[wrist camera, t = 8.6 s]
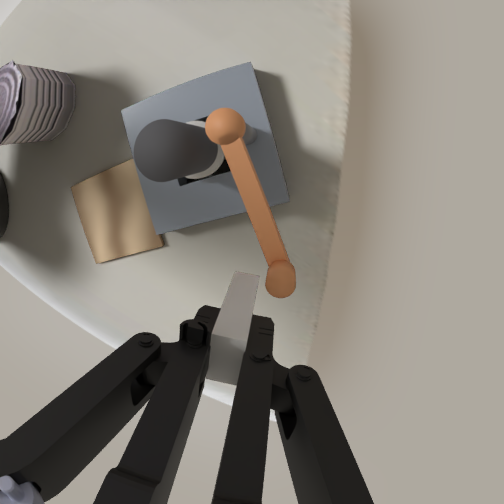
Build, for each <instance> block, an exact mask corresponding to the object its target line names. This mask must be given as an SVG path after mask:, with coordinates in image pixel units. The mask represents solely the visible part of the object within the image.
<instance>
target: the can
mask: <svg viewBox="0 0 504 504" xmlns="http://www.w3.org/2000/svg"><path fill="white" fill-rule="evenodd" d="M74 109H75V85H74V83H73V82H72V80H71V79H70V78H69V76H68V75H67V73H63V72H59V71H54V70H49V69H44V68H38V67H32V66H26V65H20V64H15V63H14V61H13V60H12V61H11V62H9V63H8V64H6V65H4V66H2V67H1V68H0V145H7V144H16V143H25V142H36V141H49V140H53V139H54V138H55V137H56V136H58V135H59V134H60V133H61V132H62V131H64V130H65V129H66V127H67V125H68V123H69V120H70V118H71V116H72V113H73V111H74Z"/></svg>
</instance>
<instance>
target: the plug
mask: <svg viewBox="0 0 504 504" xmlns="http://www.w3.org/2000/svg"><path fill="white" fill-rule="evenodd" d="M205 123H206V122H203V121H190V122H186V123H183V122H178V121H174V120H169V119H159V120H156V121H153V122H151V123H149V124H148V125H146V126H145V127H144V128H143V129H142V130H141V131H140V133H139V134H138V136H137V138H136V141H135V144H134V160H135V163H136V166H137V168H138V169H139V171H140V172H141V173H142V174H143V175H144V176H145V177H146V178H148V179H150V180H152V181H155V182H167V181H171V180H175V179H178V178H182V177H186V178H190V179H199V178H203V177H206V176H209V175H211V174H212V173H214V172H215V171H216V170H217V169H218V168H219V167H220V166H221V164H222V163H223V161H224V158H225V155H224V153H223V150H222V148H221V145H219V144H216V143H214V142H212V141H211V140H210V139H209V138H208V136H207V134H206V131H205Z"/></svg>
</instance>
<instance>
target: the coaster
mask: <svg viewBox="0 0 504 504" xmlns="http://www.w3.org/2000/svg"><path fill="white" fill-rule="evenodd" d="M71 190H72V194H73V197H74V200H75V204H76V207H77V210H78V213H79V217H80V220H81V223H82V226H83V229H84V232H85V235H86V237H87V240H88V243H89V246H90V248H91V251H92V254H93V257H94V259H95V262H96V264H97V263H101V262H104V261H108V260H112V259H116V258H119V257H123V256H127V255H131V254H134V253H138V252H142V251H146V250H150V249H154V248H158V247H161V246H164V242H163V239H162V236H161V234H159V235H156V232H155V229H154V226H153V223H152V219H151V216H150V213H149V210H148V207H147V204H146V201H145V197H144V194H143V191H142V187H141V184H140V181H139V177H138V174H137V170H136V167H135V163H134V159H131V160H128V161H126V162H124V163H121V164H119V165H117V166H115V167H112V168H110V169H108V170H106V171H103V172H101V173H99V174H97V175H95V176H93V177H91V178H89V179H86V180H84V181H82V182H80V183H78V184H76V185H74V186H72V187H71Z"/></svg>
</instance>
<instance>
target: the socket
mask: <svg viewBox="0 0 504 504" xmlns="http://www.w3.org/2000/svg"><path fill="white" fill-rule="evenodd" d="M219 108H230V109H233V110H235V111H236V112H238V113H239V114H240V115H241V116H242V117H243V118H244V120H245V124H246V130H245V134H244V136H243V137H242V138H243V141H244V143H245V146H246V148H247V151H248V153H249V156H250V158H251V161H252V163H253V166H254V168H255V171H256V173H257V176H258V178H259V181H260V184H261V186H262V189H263V191H264V194H265V196H266V199H267V202H268V204H269V206H273V205H278V204H282V203H286V202H289V194H288V190H287V186H286V182H285V178H284V174H283V170H282V166H281V163H280V159H279V155H278V151H277V147H276V144H275V140H274V136H273V133H272V129H271V126H270V122H269V118H268V115H267V111H266V108H265V104H264V101H263V98H262V94H261V91H260V88H259V84H258V81H257V78H256V74H255V71H254V68H253V66H252V64H251V62H248V63H244V64H241V65H237V66H234V67H230V68H227V69H224V70H220V71H217V72H214V73H211V74H208V75H205V76H202V77H199V78H197V79H194V80H191V81H188V82H186V83H183V84H180V85H178V86H175V87H173V88H170V89H168V90H165V91H163V92H160V93H158V94H156V95H153V96H151V97H149V98H146V99H144V100H142V101H140V102H138V103H136V104H133V105H131V106H129V107H127V108H125V109H123V110H121V112H122V116H123V121H124V125H125V129H126V133H127V137H128V141H129V144H130V148H131V152H132V156H133V159H134V144H135V141H136V138H137V136H138V134H139V133H140V131H141V130H142V129H143V128H144V127H145V126H146V125H148V124H149V123H151V122H153V121H156V120H159V119H169V120H174V121H178V122H183V123H186V122H190V121H203V122H206V120H207V118H208V116H209V115H210V114H211V113H212V112H213V111H215V110H217V109H219ZM134 163H135V160H134ZM135 167H136V170H137V174H138V177H139V181H140V184H141V187H142V191H143V194H144V197H145V201H146V204H147V207H148V210H149V213H150V216H151V219H152V223H153V226H154V229H155V232H156V235H159V234H163V233H166V232H170V231H174V230H177V229H181V228H185V227H189V226H193V225H196V224H200V223H204V222H208V221H212V220H216V219H220V218H224V217H228V216H232V215H236V214H240V213H244V212H247V210H246V208H245V205H244V203H243V200H242V198H241V195H240V193H239V190H238V188H237V185H236V183H235V180H234V178H233V175H232V173H231V171H229V172H225V173H221V174H218V175H214V176H211V177H208V178H204V179H201V180H197V181H194V182H191V183H188V181H187V178H186V177H182V178H178V179H175V180H171V181H167V182H155V181H152V180H150V179H148V178H146V177H145V176H144V175H143V174H142V173H141V172H140V171H139V169H138V168H137V166H136V163H135Z"/></svg>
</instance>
